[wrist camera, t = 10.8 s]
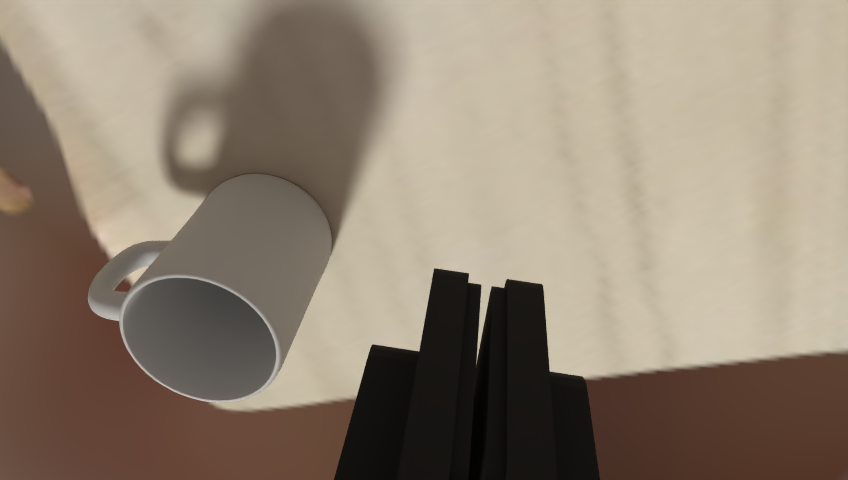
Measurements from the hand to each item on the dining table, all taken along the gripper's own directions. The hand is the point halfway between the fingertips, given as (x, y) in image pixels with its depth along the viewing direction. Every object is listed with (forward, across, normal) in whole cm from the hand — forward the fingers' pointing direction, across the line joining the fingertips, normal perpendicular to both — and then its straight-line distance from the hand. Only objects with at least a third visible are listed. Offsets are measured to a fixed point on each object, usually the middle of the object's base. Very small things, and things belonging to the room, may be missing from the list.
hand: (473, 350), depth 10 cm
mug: (+27, +14, +16) cm, 35 cm away
